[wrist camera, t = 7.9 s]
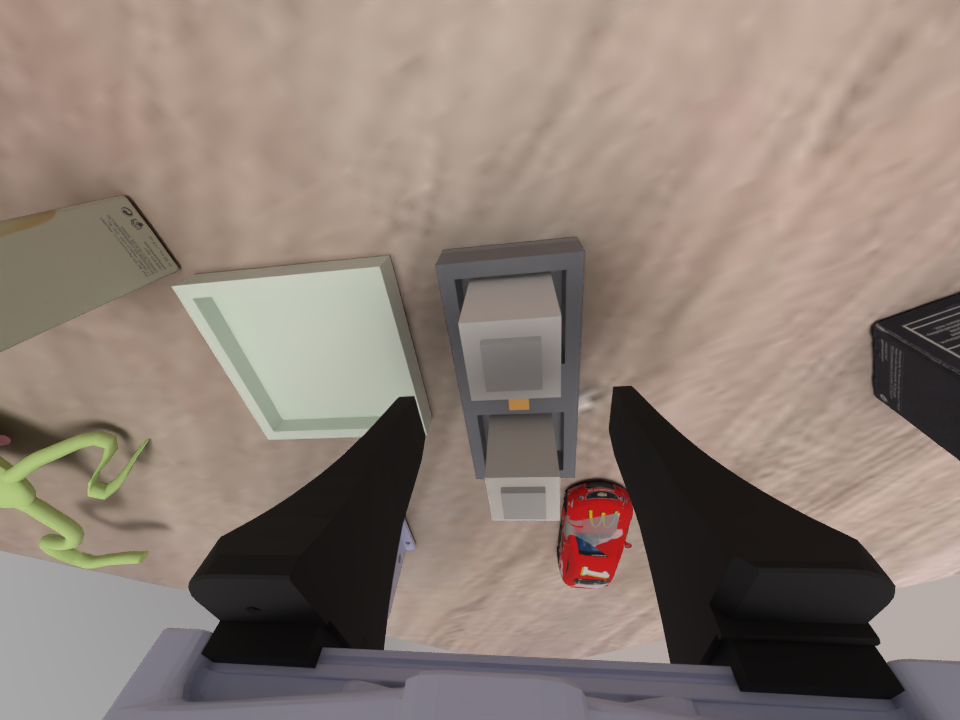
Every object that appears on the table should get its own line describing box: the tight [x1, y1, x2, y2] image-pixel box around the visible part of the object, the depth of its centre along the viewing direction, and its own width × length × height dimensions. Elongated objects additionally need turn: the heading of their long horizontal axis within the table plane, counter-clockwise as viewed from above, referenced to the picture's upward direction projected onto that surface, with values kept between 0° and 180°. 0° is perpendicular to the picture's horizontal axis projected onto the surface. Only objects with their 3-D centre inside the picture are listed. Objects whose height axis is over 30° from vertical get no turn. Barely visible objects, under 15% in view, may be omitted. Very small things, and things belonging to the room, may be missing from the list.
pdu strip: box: [435, 237, 585, 479], centre depth 22 cm, size 16×7×3 cm, turn 7°
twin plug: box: [485, 413, 560, 521], centre depth 22 cm, size 4×4×6 cm
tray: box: [171, 255, 432, 440], centre depth 23 cm, size 12×12×2 cm
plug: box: [458, 271, 561, 401], centre depth 17 cm, size 4×4×6 cm
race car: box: [557, 482, 633, 589], centre depth 31 cm, size 13×5×4 cm, turn 1°
